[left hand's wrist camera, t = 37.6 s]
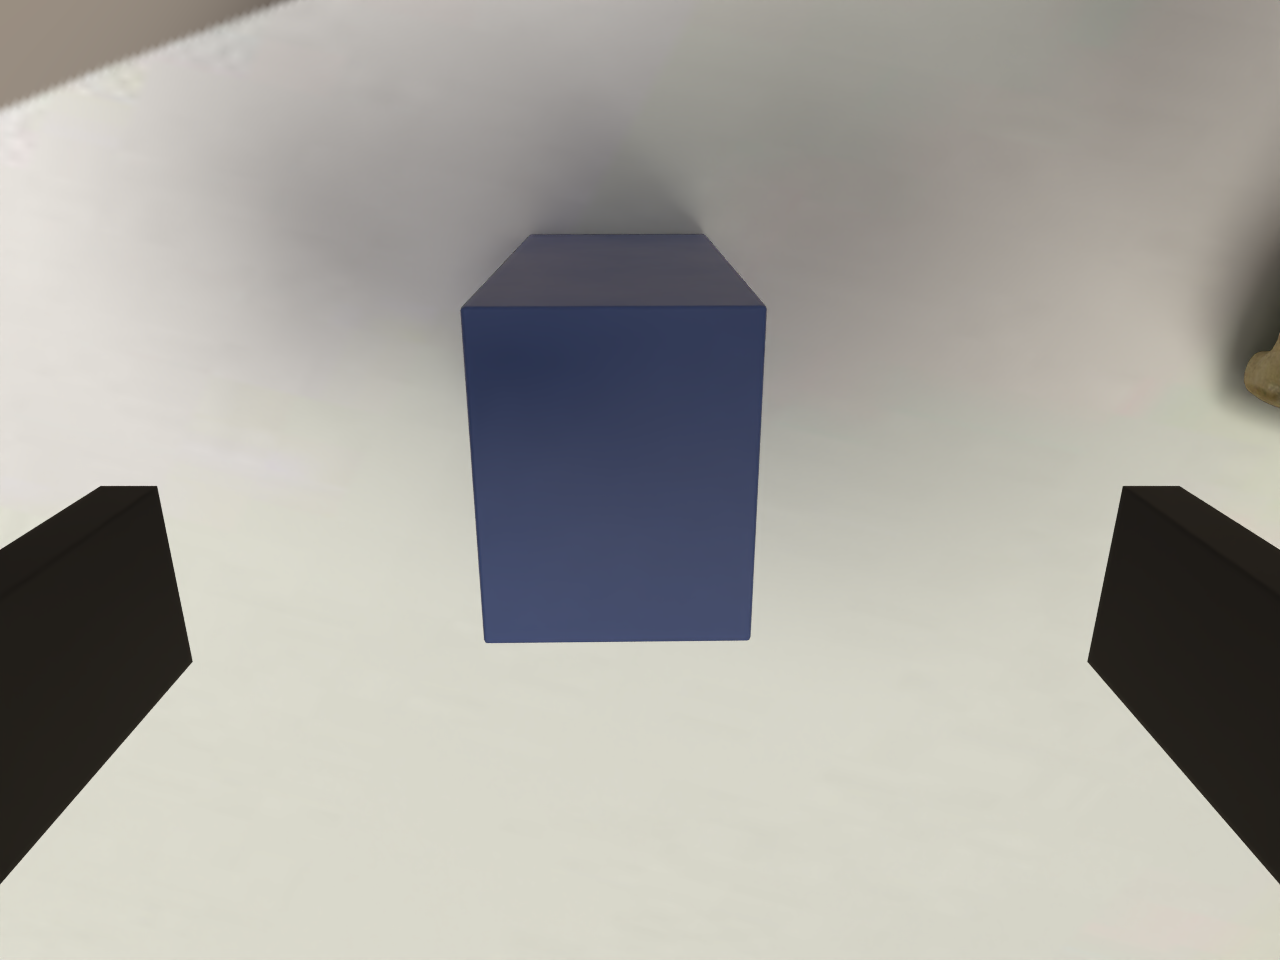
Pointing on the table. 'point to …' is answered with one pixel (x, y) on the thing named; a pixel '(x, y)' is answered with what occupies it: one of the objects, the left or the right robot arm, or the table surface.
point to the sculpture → (1265, 375)
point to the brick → (615, 440)
